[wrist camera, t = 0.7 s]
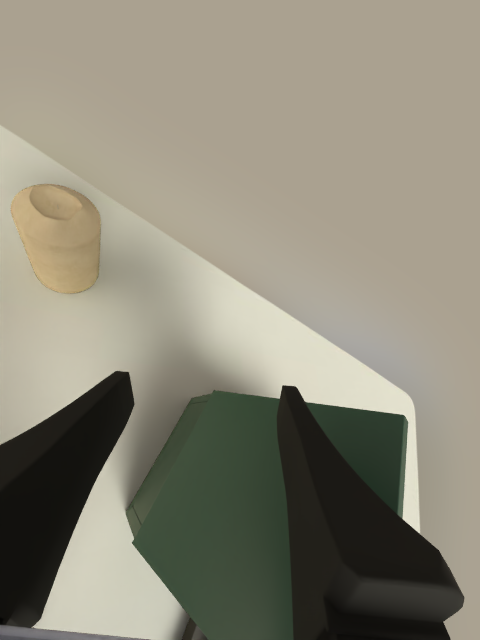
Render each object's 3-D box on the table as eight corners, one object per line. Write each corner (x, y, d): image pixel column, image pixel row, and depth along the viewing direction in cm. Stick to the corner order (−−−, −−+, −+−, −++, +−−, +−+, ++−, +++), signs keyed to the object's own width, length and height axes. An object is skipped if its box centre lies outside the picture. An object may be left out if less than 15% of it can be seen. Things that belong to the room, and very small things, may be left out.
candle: (103, 255, 28) (107, 188, 20) (92, 299, 26) (92, 244, 18) (43, 239, 26) (20, 155, 18) (26, 286, 24) (-10, 216, 15)
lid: (408, 421, 12) (404, 414, 12) (383, 842, 6) (375, 852, 6) (218, 394, 22) (213, 390, 22) (139, 545, 16) (131, 543, 16)
